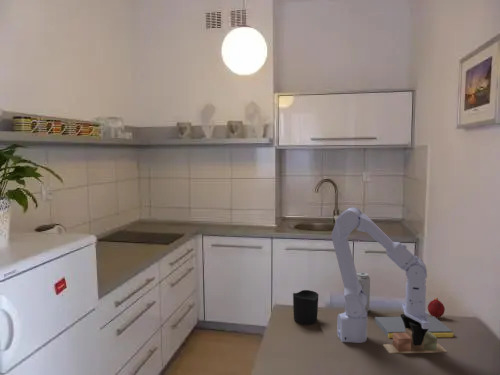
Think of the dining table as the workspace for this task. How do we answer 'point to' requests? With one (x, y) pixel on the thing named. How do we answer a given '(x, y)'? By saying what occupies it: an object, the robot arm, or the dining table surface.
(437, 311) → the onion
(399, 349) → the block
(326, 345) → the dining table surface
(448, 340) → the dining table surface
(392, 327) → the dock
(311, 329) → the dining table surface
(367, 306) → the energy drink can
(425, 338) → the block
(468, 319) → the dining table surface
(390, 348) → the board
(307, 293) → the pen holder
